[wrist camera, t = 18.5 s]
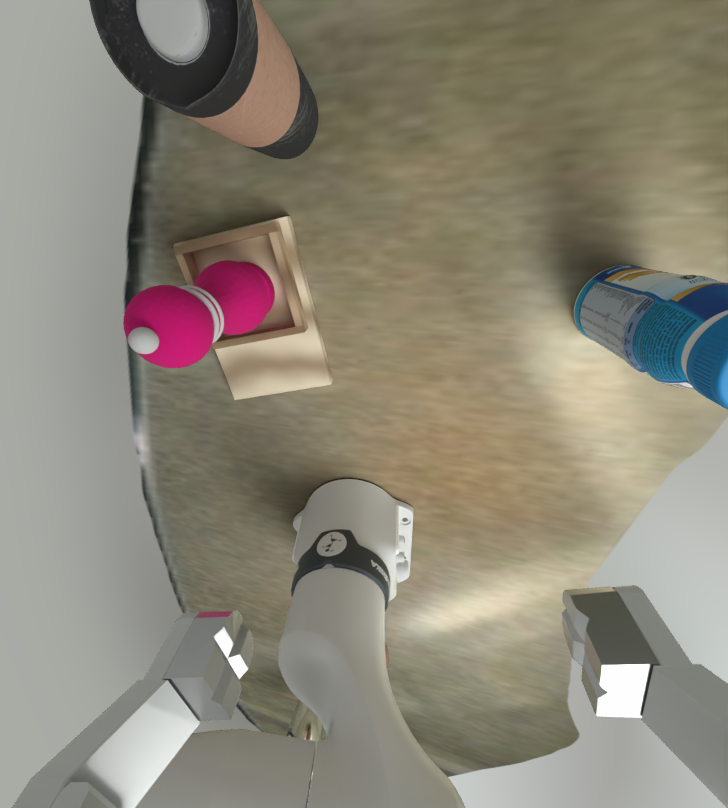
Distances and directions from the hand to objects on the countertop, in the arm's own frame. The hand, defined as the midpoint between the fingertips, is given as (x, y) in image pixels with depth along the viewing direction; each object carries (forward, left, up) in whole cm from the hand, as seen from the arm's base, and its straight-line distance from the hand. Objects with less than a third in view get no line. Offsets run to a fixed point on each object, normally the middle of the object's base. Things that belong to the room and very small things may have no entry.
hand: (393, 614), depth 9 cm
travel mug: (+20, +8, -37) cm, 43 cm away
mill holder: (+2, +16, -37) cm, 40 cm away
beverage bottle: (-4, -23, -37) cm, 44 cm away
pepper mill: (+5, +16, -36) cm, 40 cm away
